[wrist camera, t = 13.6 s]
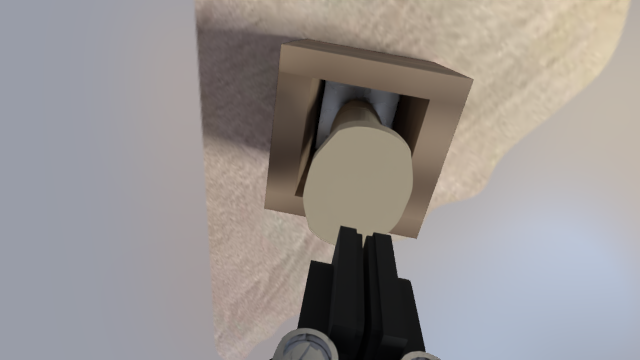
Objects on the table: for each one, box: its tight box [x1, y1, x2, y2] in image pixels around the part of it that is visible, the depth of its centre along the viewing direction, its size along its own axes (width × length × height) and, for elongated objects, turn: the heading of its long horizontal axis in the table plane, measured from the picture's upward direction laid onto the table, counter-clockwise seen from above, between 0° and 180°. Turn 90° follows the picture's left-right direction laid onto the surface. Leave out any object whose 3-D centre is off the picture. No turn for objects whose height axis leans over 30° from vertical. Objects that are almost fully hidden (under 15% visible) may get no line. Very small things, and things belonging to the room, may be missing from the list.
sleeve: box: [264, 39, 474, 238], centre depth 25 cm, size 11×11×10 cm
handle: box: [303, 98, 413, 246], centre depth 22 cm, size 5×6×15 cm
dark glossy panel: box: [315, 80, 400, 149], centre depth 29 cm, size 7×6×1 cm
